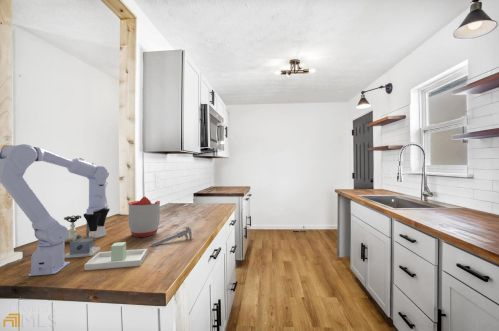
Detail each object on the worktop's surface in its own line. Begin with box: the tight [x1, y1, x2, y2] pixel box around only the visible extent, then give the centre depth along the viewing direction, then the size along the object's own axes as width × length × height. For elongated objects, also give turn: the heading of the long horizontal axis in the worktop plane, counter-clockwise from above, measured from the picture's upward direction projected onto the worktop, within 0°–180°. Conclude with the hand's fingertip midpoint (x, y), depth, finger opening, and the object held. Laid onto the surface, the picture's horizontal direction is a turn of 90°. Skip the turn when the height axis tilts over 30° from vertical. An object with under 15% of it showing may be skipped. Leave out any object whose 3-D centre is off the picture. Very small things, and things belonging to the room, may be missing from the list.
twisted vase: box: [85, 181, 108, 239], centre depth 123 cm, size 8×8×28 cm
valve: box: [63, 215, 83, 243], centre depth 113 cm, size 7×7×12 cm
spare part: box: [110, 241, 127, 262], centre depth 90 cm, size 4×4×6 cm
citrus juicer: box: [127, 196, 161, 238], centre depth 127 cm, size 16×17×20 cm
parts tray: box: [84, 248, 148, 271], centre depth 90 cm, size 12×18×2 cm, turn 102°
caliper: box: [148, 225, 193, 248], centre depth 113 cm, size 20×1×6 cm, turn 130°
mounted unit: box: [64, 238, 102, 259], centre depth 98 cm, size 8×10×6 cm
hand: (97, 228), depth 97 cm, fingers open, 7 cm apart
